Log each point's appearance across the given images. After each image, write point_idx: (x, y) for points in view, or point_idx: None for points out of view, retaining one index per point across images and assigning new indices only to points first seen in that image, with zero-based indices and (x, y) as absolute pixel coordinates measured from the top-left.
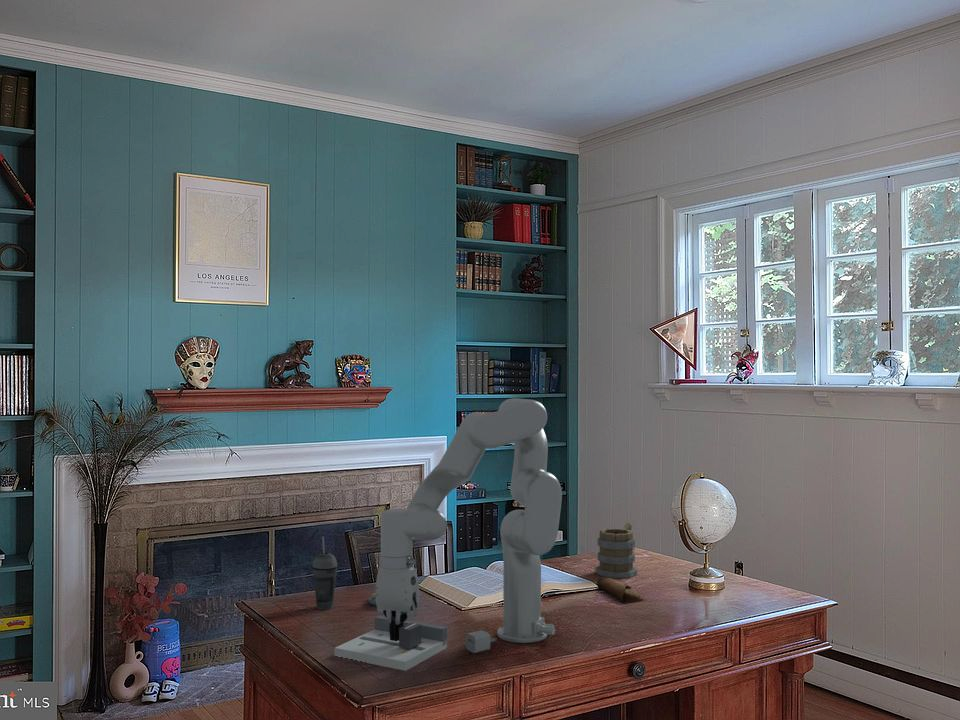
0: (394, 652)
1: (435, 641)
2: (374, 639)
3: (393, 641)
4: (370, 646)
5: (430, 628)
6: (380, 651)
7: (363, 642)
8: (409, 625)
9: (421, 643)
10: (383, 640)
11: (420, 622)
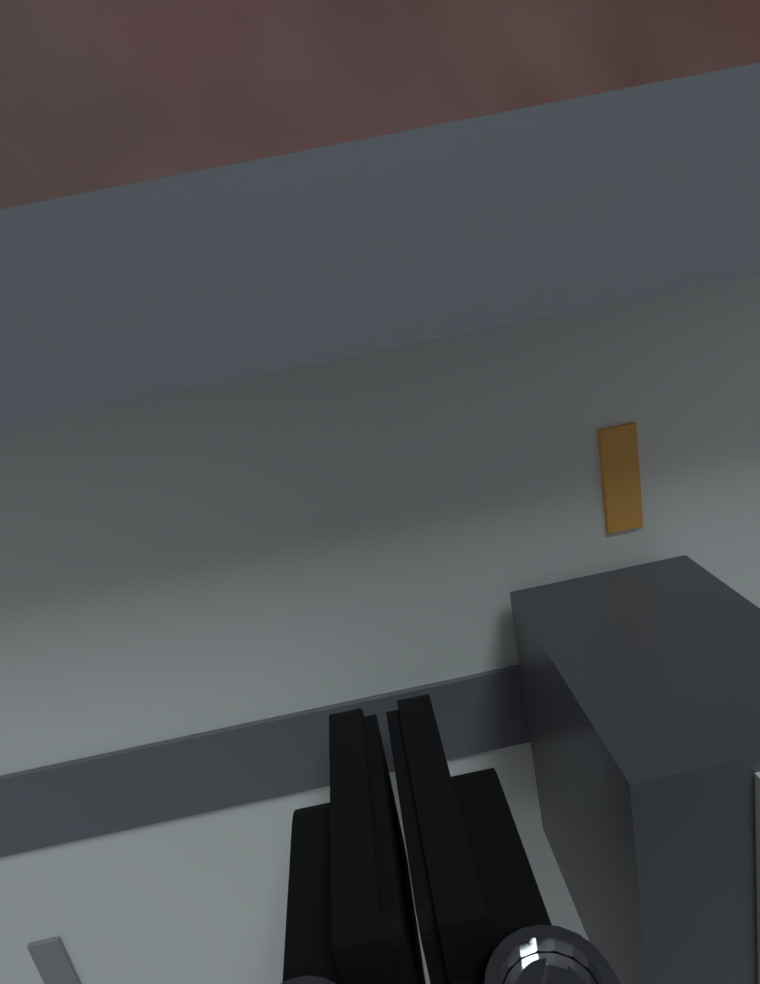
0: (570, 902)
1: (755, 301)
2: (27, 804)
3: (269, 683)
4: (205, 950)
5: (748, 274)
6: (424, 970)
7: (19, 929)
8: (722, 911)
9: (638, 505)
10: (153, 758)
11: (356, 146)
